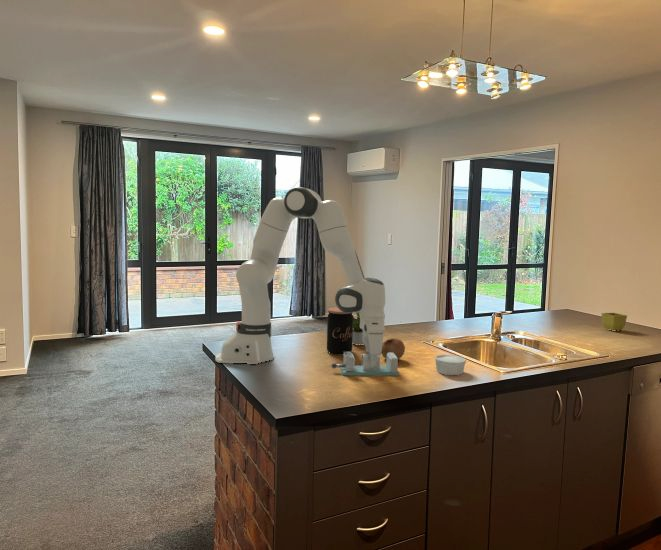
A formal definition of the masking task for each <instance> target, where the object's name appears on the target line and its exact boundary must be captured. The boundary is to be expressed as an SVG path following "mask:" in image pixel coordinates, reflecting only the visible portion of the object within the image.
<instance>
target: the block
mask: <svg viewBox="0 0 661 550" xmlns="http://www.w3.org/2000/svg"><path fill="white" fill-rule="evenodd" d="M370 359H371V354H366V353H361V365H360V366H361V367H362V369H363V370H380V366H381V355H377V359H376V365H371V364H370Z"/></svg>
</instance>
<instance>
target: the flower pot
mask: <svg viewBox="0 0 661 550" xmlns="http://www.w3.org/2000/svg"><path fill="white" fill-rule="evenodd" d="M627 317H628V315H627V314H621V313H617V312H603V313H601V322H602V323H601V324H602V326H603V327H604V329H605V328H606V329H611V330H621V331H622V330H623V329H624V327H625V325H626V322H627ZM606 329H605V330H606Z"/></svg>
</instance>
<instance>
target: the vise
mask: <svg viewBox="0 0 661 550" xmlns="http://www.w3.org/2000/svg"><path fill="white" fill-rule="evenodd" d="M385 361H386V364H385V365H380V370H363V369H362V367H361V365H355V367H354V370H353V371H346V370H345V368H340V371H341V374H342V376H399V375H400V373H399V371H398V366H399V365H398V364H399V363H398V362H399V359H398V358H397V357H396V355H395V354H394V353H388V354H387V359H386V360H385Z"/></svg>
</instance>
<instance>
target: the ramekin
mask: <svg viewBox="0 0 661 550" xmlns="http://www.w3.org/2000/svg"><path fill="white" fill-rule="evenodd" d="M434 362H435V369H436V371H437V373H439V374H441V375H443V374H444V376H449V375H458V376H461V375H462V374H463V373H464V371H465V365H466V363H467V360H466V358H464V357H462V356H459V355H455V354H440V355H439V354H438V355H436V356H435V357H434ZM460 374H461V375H460Z"/></svg>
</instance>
